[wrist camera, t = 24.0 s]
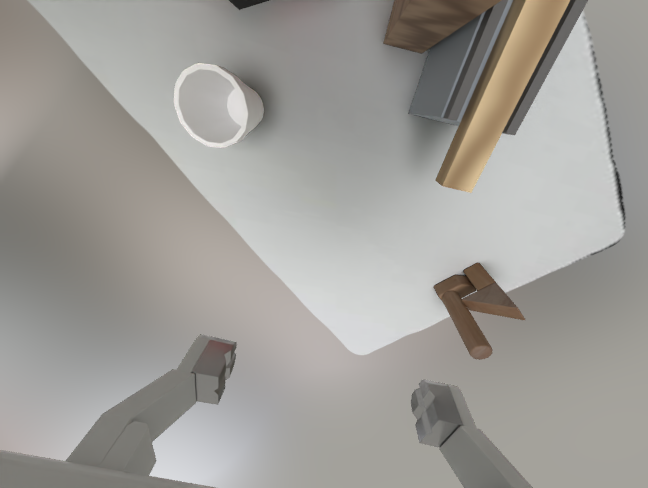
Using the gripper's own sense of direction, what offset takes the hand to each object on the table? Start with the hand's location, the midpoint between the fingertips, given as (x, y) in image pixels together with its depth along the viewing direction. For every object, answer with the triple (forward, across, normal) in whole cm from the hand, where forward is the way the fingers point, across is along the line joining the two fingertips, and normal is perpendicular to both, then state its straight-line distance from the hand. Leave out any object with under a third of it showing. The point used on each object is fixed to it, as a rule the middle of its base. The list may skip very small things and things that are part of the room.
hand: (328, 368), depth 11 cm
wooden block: (+41, -32, +18) cm, 55 cm away
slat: (+25, -13, -15) cm, 32 cm away
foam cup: (+41, +18, -6) cm, 45 cm away
